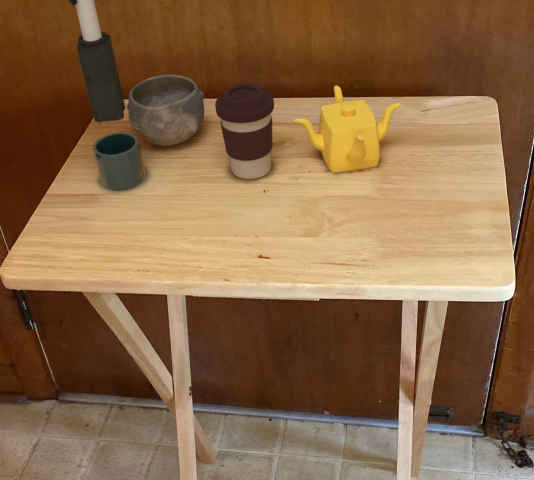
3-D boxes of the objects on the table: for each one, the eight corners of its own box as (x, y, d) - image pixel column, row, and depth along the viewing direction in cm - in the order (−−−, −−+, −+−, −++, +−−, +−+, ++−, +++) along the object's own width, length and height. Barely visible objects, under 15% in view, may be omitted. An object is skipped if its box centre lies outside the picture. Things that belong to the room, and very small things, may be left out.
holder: (109, 195, 143) (100, 161, 139) (95, 174, 149) (87, 140, 144) (151, 181, 146) (144, 147, 141) (137, 161, 151) (129, 128, 146)
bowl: (126, 157, 152) (115, 109, 146) (146, 116, 164) (136, 69, 157) (199, 158, 150) (191, 108, 144) (214, 116, 161) (207, 68, 155)
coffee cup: (268, 149, 151) (262, 73, 140) (286, 176, 144) (281, 98, 133) (217, 162, 149) (207, 86, 139) (233, 189, 142) (223, 111, 132)
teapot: (362, 185, 140) (362, 135, 133) (294, 164, 146) (291, 115, 140) (403, 146, 148) (405, 97, 141) (336, 128, 155) (335, 80, 148)
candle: (96, 108, 140) (60, -43, 123) (125, 105, 140) (94, -46, 123) (93, 122, 136) (56, -31, 119) (123, 119, 136) (90, -35, 119)
